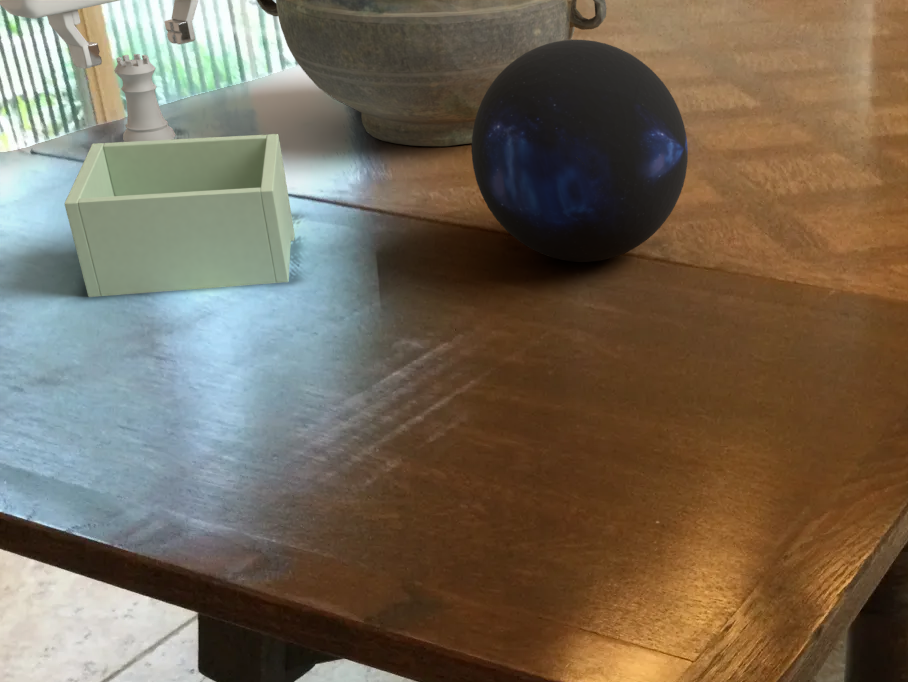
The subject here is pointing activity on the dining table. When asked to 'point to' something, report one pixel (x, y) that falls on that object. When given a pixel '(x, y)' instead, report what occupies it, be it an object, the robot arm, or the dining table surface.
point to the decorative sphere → (579, 150)
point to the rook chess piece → (141, 101)
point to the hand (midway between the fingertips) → (136, 54)
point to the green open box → (181, 215)
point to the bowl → (419, 56)
